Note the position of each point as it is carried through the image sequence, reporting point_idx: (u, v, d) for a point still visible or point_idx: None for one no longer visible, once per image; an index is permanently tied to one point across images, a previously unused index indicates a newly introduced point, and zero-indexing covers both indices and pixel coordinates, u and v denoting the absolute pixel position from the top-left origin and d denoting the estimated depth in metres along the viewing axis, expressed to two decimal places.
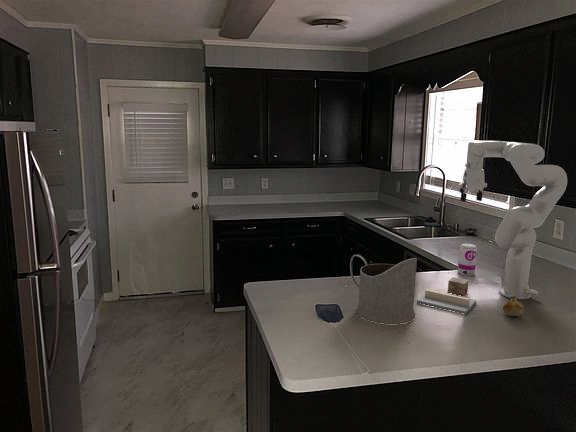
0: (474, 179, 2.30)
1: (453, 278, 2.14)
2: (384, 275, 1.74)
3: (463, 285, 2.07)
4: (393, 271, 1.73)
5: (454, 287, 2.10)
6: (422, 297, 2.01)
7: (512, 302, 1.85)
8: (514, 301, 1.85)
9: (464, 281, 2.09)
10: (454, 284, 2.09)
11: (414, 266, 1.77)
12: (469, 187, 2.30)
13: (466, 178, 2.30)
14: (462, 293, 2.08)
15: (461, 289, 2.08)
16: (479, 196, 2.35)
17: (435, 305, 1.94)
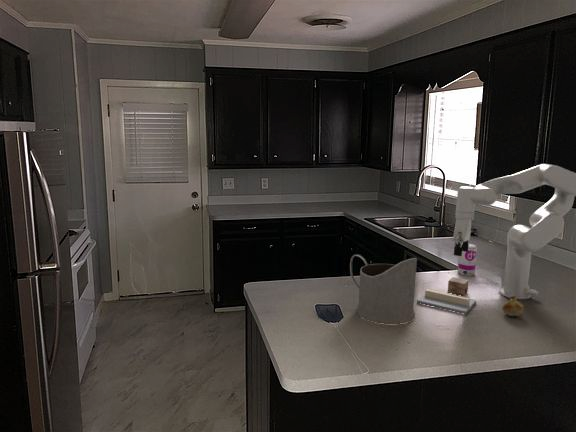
0: None
1: (453, 278, 2.14)
2: (384, 275, 1.74)
3: (463, 285, 2.07)
4: (393, 271, 1.73)
5: (454, 287, 2.10)
6: (422, 297, 2.01)
7: (512, 302, 1.85)
8: (514, 301, 1.85)
9: (464, 281, 2.09)
10: (454, 284, 2.09)
11: (414, 266, 1.77)
12: None
13: None
14: (462, 293, 2.08)
15: (461, 289, 2.08)
16: None
17: (435, 305, 1.94)
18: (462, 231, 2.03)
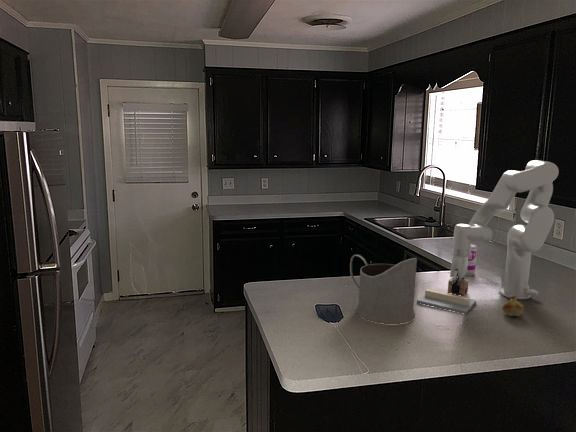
0: None
1: None
2: (384, 275, 1.74)
3: (463, 285, 2.07)
4: (393, 271, 1.73)
5: None
6: (422, 297, 2.01)
7: (512, 302, 1.85)
8: (514, 301, 1.85)
9: (464, 281, 2.09)
10: None
11: (414, 266, 1.77)
12: None
13: None
14: (462, 293, 2.08)
15: (461, 289, 2.08)
16: None
17: (435, 305, 1.94)
18: (459, 268, 2.05)
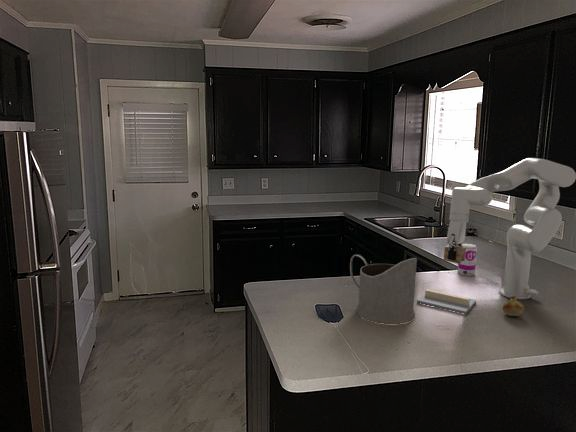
0: None
1: None
2: (384, 275, 1.74)
3: (460, 251, 1.97)
4: (393, 271, 1.73)
5: None
6: (422, 297, 2.01)
7: (512, 302, 1.85)
8: (514, 301, 1.85)
9: (461, 248, 2.00)
10: None
11: (414, 266, 1.77)
12: None
13: None
14: (459, 260, 1.98)
15: (458, 255, 1.98)
16: None
17: (435, 305, 1.94)
18: (456, 233, 1.96)
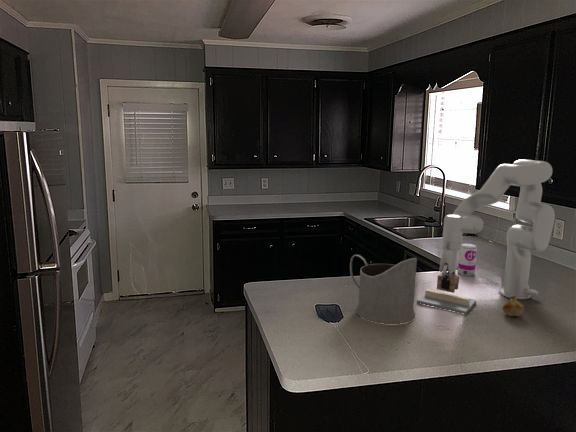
0: None
1: None
2: (384, 275, 1.74)
3: (453, 280, 1.93)
4: (393, 271, 1.73)
5: None
6: (422, 297, 2.01)
7: (512, 302, 1.85)
8: (514, 301, 1.85)
9: (454, 276, 1.95)
10: None
11: (414, 266, 1.77)
12: None
13: None
14: (452, 289, 1.94)
15: (452, 284, 1.94)
16: None
17: (435, 305, 1.94)
18: (449, 262, 1.91)
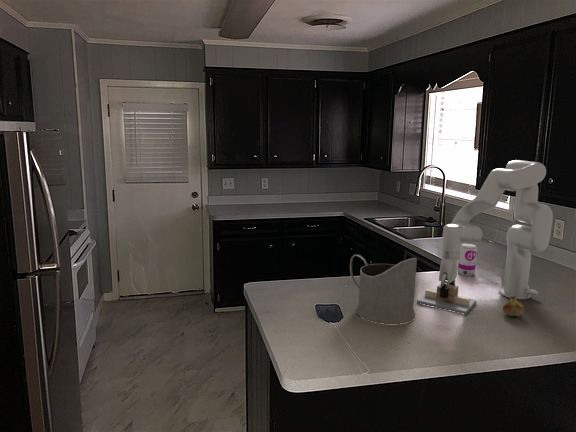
0: None
1: None
2: (384, 275, 1.74)
3: (452, 291, 1.94)
4: (393, 271, 1.73)
5: None
6: (422, 297, 2.01)
7: (512, 302, 1.85)
8: (514, 301, 1.85)
9: (454, 287, 1.96)
10: None
11: (414, 266, 1.77)
12: None
13: None
14: (451, 300, 1.95)
15: (451, 296, 1.95)
16: None
17: (435, 305, 1.94)
18: (448, 272, 1.92)
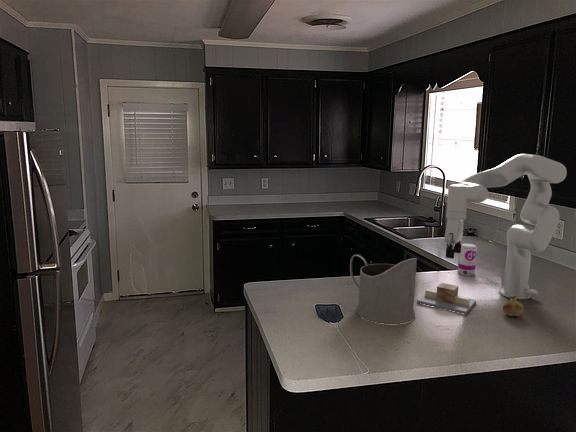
0: None
1: (442, 284, 2.01)
2: (384, 275, 1.74)
3: (452, 291, 1.94)
4: (393, 271, 1.73)
5: (443, 294, 1.97)
6: (422, 297, 2.01)
7: (512, 302, 1.85)
8: (514, 301, 1.85)
9: (454, 287, 1.96)
10: (443, 291, 1.96)
11: (414, 266, 1.77)
12: None
13: None
14: (451, 300, 1.95)
15: (451, 296, 1.95)
16: None
17: (435, 305, 1.94)
18: (454, 232, 1.90)
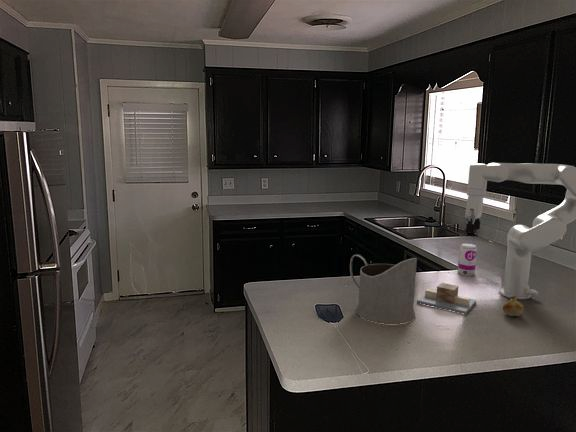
0: None
1: (442, 284, 2.01)
2: (384, 275, 1.74)
3: (452, 291, 1.94)
4: (393, 271, 1.73)
5: (443, 294, 1.97)
6: (422, 297, 2.01)
7: (512, 302, 1.85)
8: (514, 301, 1.85)
9: (454, 287, 1.96)
10: (443, 291, 1.96)
11: (414, 266, 1.77)
12: None
13: None
14: (451, 300, 1.95)
15: (451, 296, 1.95)
16: None
17: (435, 305, 1.94)
18: (474, 208, 2.02)
